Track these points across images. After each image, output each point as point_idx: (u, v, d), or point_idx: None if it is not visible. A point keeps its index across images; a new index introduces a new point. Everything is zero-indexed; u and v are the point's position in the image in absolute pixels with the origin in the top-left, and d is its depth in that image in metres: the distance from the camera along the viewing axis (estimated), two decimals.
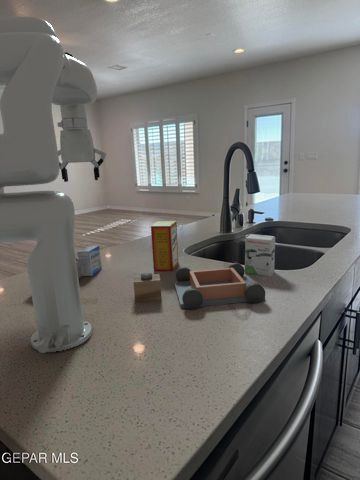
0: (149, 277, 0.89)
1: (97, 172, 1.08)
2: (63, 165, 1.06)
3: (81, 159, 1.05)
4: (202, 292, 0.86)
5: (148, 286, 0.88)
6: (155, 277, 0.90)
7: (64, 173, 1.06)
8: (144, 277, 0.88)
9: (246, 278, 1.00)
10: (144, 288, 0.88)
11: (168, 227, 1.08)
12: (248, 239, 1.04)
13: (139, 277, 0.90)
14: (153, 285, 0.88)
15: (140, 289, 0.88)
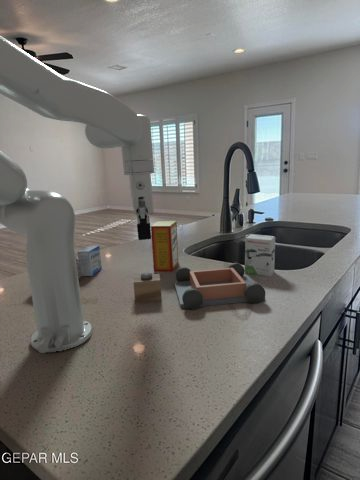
0: (149, 277, 0.89)
1: None
2: None
3: None
4: (202, 292, 0.86)
5: (148, 286, 0.88)
6: (155, 277, 0.90)
7: None
8: (144, 277, 0.88)
9: (246, 278, 1.00)
10: (144, 288, 0.88)
11: (168, 227, 1.08)
12: (248, 239, 1.04)
13: (139, 277, 0.90)
14: (153, 285, 0.88)
15: (140, 289, 0.88)
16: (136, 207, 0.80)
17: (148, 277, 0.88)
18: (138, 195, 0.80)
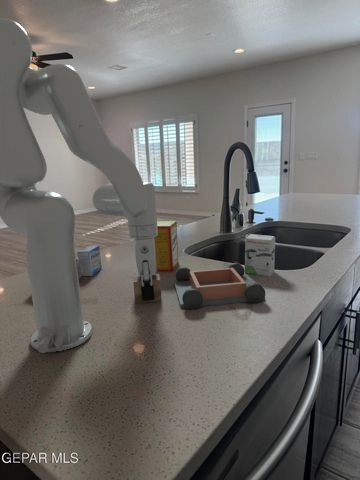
0: (149, 277, 0.89)
1: None
2: None
3: None
4: (202, 292, 0.86)
5: None
6: (155, 276, 0.90)
7: None
8: None
9: (246, 278, 1.00)
10: None
11: (168, 227, 1.08)
12: (248, 239, 1.04)
13: (139, 277, 0.90)
14: (153, 285, 0.88)
15: (140, 289, 0.88)
16: (140, 273, 0.85)
17: None
18: (142, 258, 0.83)
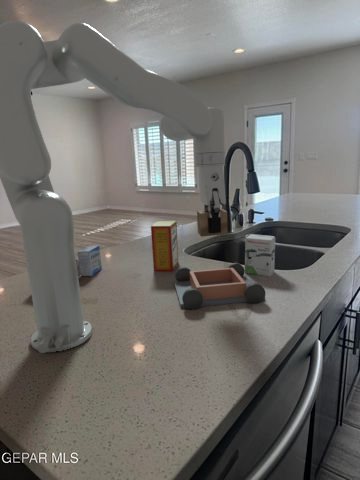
0: None
1: None
2: None
3: None
4: (202, 292, 0.86)
5: None
6: (220, 210, 0.88)
7: None
8: None
9: (246, 278, 1.00)
10: None
11: (168, 227, 1.08)
12: (248, 239, 1.04)
13: (203, 211, 0.88)
14: None
15: (206, 221, 0.86)
16: (209, 203, 0.83)
17: None
18: (212, 186, 0.81)
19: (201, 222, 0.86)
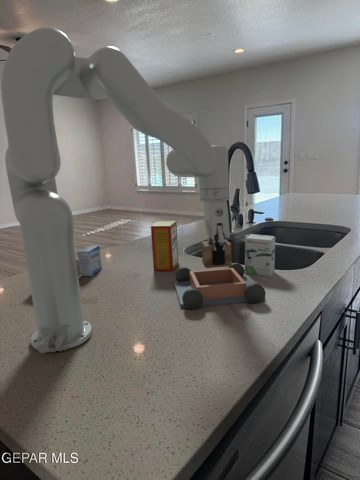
0: None
1: None
2: None
3: None
4: (202, 292, 0.86)
5: None
6: (224, 242, 0.90)
7: None
8: None
9: (246, 278, 1.00)
10: None
11: (168, 227, 1.08)
12: (248, 239, 1.04)
13: (208, 242, 0.91)
14: None
15: (211, 253, 0.88)
16: (214, 237, 0.85)
17: None
18: (217, 221, 0.83)
19: (206, 254, 0.88)
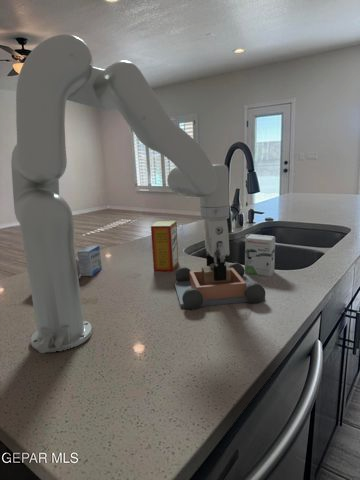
0: None
1: None
2: None
3: None
4: (202, 292, 0.86)
5: None
6: None
7: None
8: None
9: (246, 278, 1.00)
10: None
11: (168, 227, 1.08)
12: (248, 239, 1.04)
13: (208, 267, 0.92)
14: None
15: (211, 279, 0.89)
16: (214, 251, 0.85)
17: None
18: (217, 239, 0.84)
19: (206, 280, 0.89)
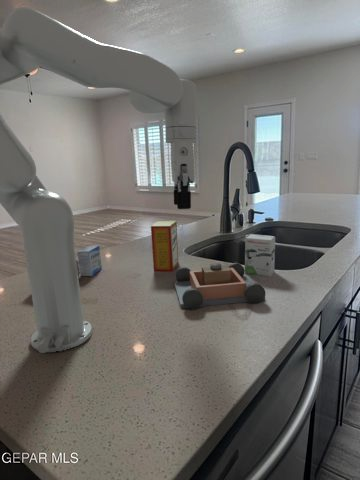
0: (219, 267, 0.90)
1: None
2: None
3: None
4: (202, 292, 0.86)
5: (219, 276, 0.89)
6: (224, 267, 0.92)
7: None
8: (214, 267, 0.90)
9: (246, 278, 1.00)
10: (215, 278, 0.89)
11: (168, 227, 1.08)
12: (248, 239, 1.04)
13: (208, 267, 0.92)
14: (223, 275, 0.89)
15: (211, 279, 0.89)
16: (178, 174, 0.78)
17: (218, 267, 0.90)
18: (181, 162, 0.78)
19: (206, 280, 0.89)
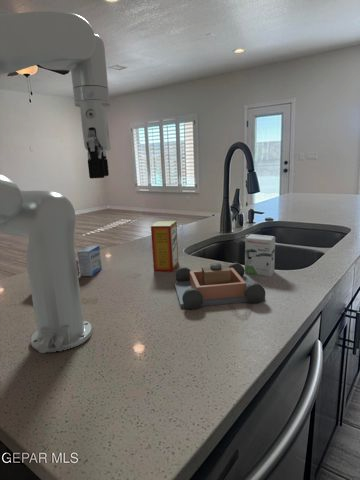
0: (219, 267, 0.90)
1: None
2: None
3: (109, 146, 0.78)
4: (202, 292, 0.86)
5: (219, 276, 0.89)
6: (224, 267, 0.92)
7: None
8: (214, 267, 0.90)
9: (246, 278, 1.00)
10: (215, 278, 0.89)
11: (168, 227, 1.08)
12: (248, 239, 1.04)
13: (208, 267, 0.92)
14: (223, 275, 0.89)
15: (211, 279, 0.89)
16: (86, 139, 0.71)
17: (218, 267, 0.90)
18: (88, 125, 0.70)
19: (206, 280, 0.89)
